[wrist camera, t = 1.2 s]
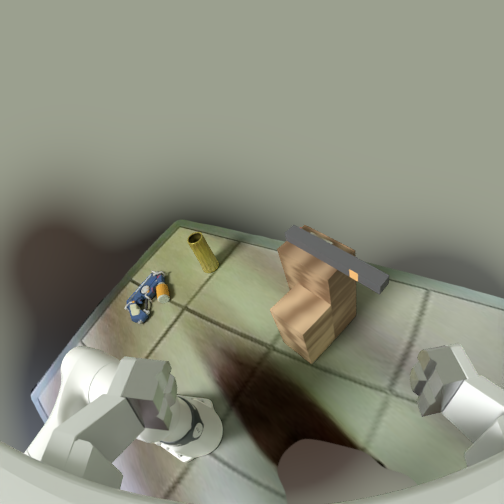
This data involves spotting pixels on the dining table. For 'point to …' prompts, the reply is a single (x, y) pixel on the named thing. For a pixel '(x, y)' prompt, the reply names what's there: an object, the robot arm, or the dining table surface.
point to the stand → (313, 300)
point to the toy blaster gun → (147, 296)
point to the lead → (338, 259)
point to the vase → (203, 252)
